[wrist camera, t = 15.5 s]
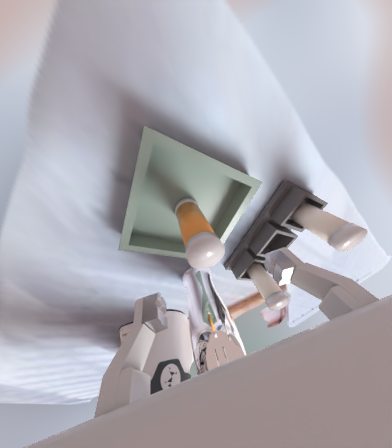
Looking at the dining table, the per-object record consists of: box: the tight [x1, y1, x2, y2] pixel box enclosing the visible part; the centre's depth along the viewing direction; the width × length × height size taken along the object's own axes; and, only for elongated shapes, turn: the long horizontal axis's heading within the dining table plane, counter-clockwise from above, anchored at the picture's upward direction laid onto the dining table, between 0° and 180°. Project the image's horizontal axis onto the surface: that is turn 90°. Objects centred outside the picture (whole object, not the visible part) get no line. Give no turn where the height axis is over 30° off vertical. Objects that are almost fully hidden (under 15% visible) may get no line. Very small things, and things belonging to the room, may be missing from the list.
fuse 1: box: [246, 262, 290, 311], centre depth 25 cm, size 3×3×9 cm
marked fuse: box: [174, 197, 225, 269], centre depth 16 cm, size 3×3×9 cm
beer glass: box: [182, 267, 246, 375], centre depth 23 cm, size 7×7×15 cm
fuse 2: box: [289, 200, 367, 252], centre depth 20 cm, size 3×3×9 cm
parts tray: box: [118, 125, 262, 259], centre depth 19 cm, size 14×14×3 cm
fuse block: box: [224, 180, 328, 281], centre depth 26 cm, size 19×8×4 cm, turn 156°
